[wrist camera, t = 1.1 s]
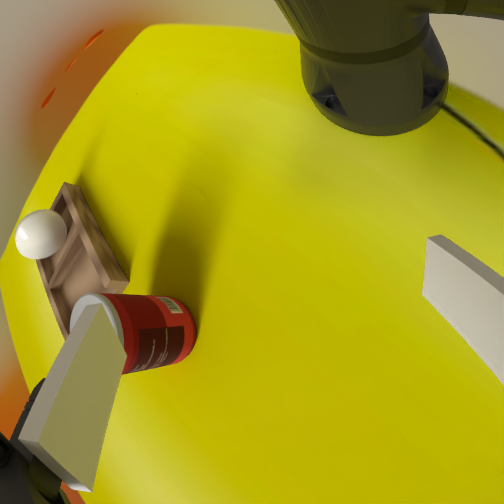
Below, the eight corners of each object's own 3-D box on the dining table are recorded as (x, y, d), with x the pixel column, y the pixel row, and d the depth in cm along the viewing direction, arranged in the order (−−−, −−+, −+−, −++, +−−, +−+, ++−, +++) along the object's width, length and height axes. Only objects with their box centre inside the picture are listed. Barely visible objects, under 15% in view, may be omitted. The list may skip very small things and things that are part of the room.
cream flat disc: (52, 257, 47) (8, 250, 39) (74, 216, 45) (26, 204, 37) (54, 262, 46) (9, 255, 38) (76, 220, 44) (27, 208, 36)
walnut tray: (46, 249, 51) (32, 247, 48) (79, 186, 47) (64, 181, 45) (86, 347, 42) (68, 349, 39) (129, 281, 38) (110, 280, 36)
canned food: (143, 299, 37) (66, 295, 27) (195, 292, 34) (114, 287, 24) (149, 362, 35) (73, 373, 26) (202, 364, 32) (123, 382, 22)
